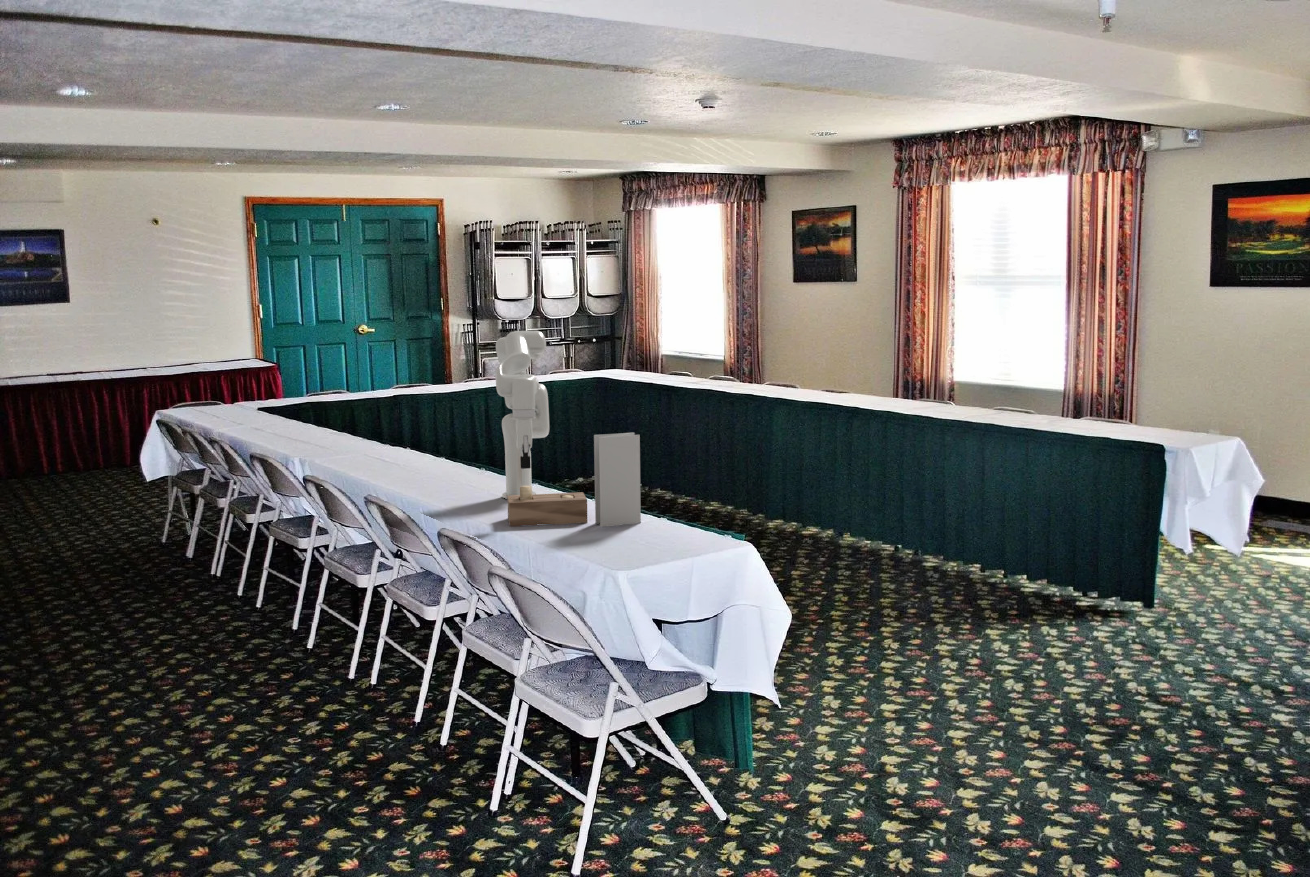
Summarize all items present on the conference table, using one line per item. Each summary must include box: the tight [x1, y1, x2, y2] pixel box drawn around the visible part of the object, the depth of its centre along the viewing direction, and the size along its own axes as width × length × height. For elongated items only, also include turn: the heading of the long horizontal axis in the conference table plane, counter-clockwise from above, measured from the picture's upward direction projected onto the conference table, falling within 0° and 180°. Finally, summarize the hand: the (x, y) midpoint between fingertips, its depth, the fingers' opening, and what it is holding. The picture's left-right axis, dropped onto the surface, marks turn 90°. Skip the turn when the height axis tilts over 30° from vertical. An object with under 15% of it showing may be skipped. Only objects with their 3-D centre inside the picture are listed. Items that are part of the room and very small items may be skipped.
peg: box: [520, 485, 533, 500], centre depth 371 cm, size 4×4×8 cm
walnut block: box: [506, 491, 588, 527], centre depth 373 cm, size 12×26×8 cm, turn 100°
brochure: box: [593, 432, 642, 528], centre depth 367 cm, size 14×6×30 cm, turn 111°
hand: (525, 468), depth 369 cm, fingers closed
